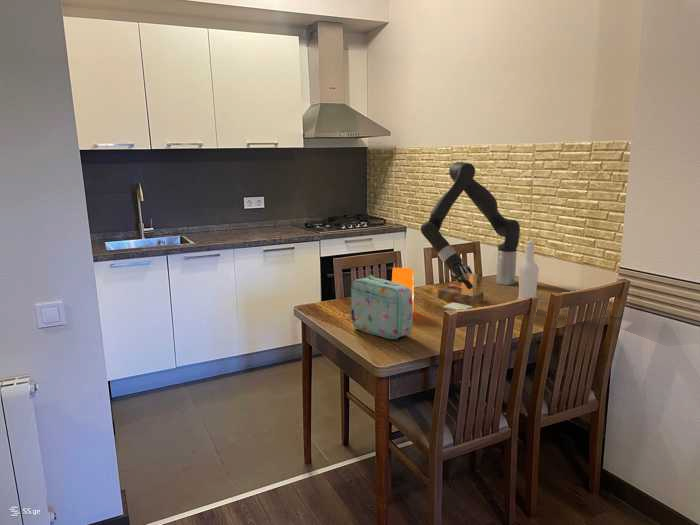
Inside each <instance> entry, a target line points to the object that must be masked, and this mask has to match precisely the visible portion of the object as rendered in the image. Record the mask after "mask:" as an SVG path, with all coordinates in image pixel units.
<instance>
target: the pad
mask: <svg viewBox="0 0 700 525" xmlns="http://www.w3.org/2000/svg"><path fill="white" fill-rule="evenodd" d="M473 306H474V305H469V304H464V303H459V302H455V301H451V303H448V304H445V305H443V306H442V308H443V309H449V310H453V311H456V310H459V309H467V308H471V309H473Z"/></svg>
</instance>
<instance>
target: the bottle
mask: <svg viewBox="0 0 700 525" xmlns="http://www.w3.org/2000/svg"><path fill="white" fill-rule="evenodd" d="M524 248H525V250H524V259H523V262H522V263H520V265H519V267H518V298H517V300H519V299H523V298H527V297H536V296H537V288H538V287H537V286H538V279H539V266H538V264H537V263H536V261H535V248H536V246H535V241H534V240H525V247H524Z"/></svg>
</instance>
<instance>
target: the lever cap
mask: <svg viewBox="0 0 700 525" xmlns="http://www.w3.org/2000/svg"><path fill="white" fill-rule="evenodd" d="M472 273H473V272H472ZM472 273H465V277H466V278H467V280H468V281H469V282H470V284H471V285H472V288H471V289H468V288H467V287H466V285H465V284H464V283H462V282H461V286H462V294H463V295H468V296H474V295H476V290H477V286H476V284H477V278H478V277H477V276H478V275H477V273H473V274H472Z"/></svg>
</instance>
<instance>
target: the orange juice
mask: <svg viewBox="0 0 700 525" xmlns="http://www.w3.org/2000/svg"><path fill="white" fill-rule="evenodd" d="M391 272H392V273H391V281H392V282H396V283H399V284H402V285H405V286H407V287H409V288H410V290H411V292H412V299H413V312H414V310H415V309H414V306H415V305H414V304H415V303H414V297H415V293H414V292H415V288H414V284H415V282H414V281H415V280H414V279H415V278H414V268H413V267H392V271H391Z"/></svg>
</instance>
